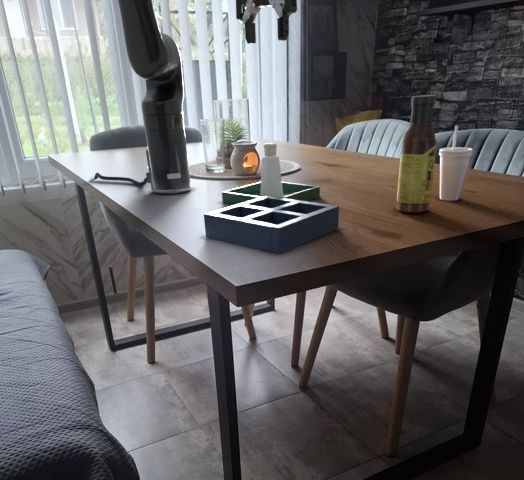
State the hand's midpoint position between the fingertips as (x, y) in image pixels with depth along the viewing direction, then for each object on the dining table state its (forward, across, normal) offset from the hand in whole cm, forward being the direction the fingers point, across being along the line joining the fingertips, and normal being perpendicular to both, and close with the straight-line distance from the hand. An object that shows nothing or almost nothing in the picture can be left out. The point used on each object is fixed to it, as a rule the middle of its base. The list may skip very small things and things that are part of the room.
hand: (266, 42), depth 100 cm
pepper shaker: (+30, -6, +7) cm, 31 cm away
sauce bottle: (+30, -36, 0) cm, 47 cm away
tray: (+30, -6, +7) cm, 31 cm away
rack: (+30, -23, +27) cm, 47 cm away
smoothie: (+30, -38, -13) cm, 50 cm away
